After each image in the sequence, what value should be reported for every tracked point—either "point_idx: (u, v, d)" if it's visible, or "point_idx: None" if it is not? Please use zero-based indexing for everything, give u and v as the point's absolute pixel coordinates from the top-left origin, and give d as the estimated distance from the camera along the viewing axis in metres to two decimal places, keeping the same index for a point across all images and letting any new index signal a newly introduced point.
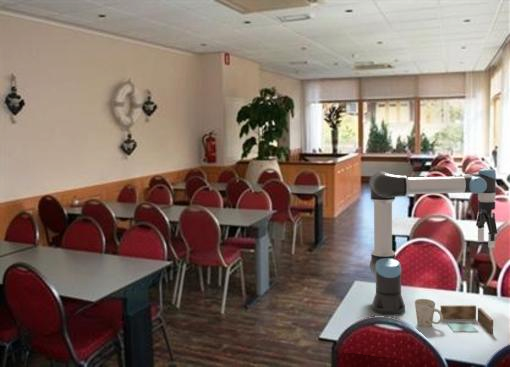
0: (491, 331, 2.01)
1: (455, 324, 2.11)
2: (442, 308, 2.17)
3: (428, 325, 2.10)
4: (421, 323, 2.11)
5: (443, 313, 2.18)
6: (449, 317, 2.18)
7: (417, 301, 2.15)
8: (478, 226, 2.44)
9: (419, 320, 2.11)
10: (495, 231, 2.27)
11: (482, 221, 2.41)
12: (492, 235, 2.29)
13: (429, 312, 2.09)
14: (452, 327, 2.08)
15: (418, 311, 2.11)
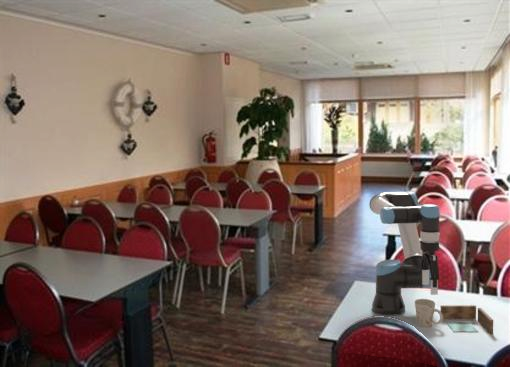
0: (491, 331, 2.01)
1: (455, 324, 2.11)
2: (442, 308, 2.17)
3: (428, 325, 2.10)
4: (421, 323, 2.11)
5: (443, 313, 2.18)
6: (449, 317, 2.18)
7: (417, 301, 2.15)
8: (422, 268, 2.16)
9: (419, 320, 2.11)
10: (437, 277, 1.99)
11: (426, 263, 2.13)
12: (434, 281, 2.01)
13: (429, 312, 2.09)
14: (452, 327, 2.08)
15: (418, 311, 2.11)
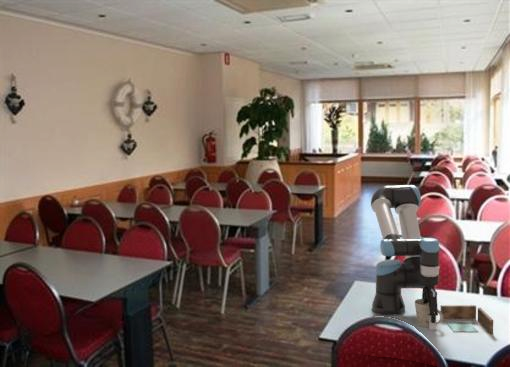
0: (491, 331, 2.01)
1: (455, 324, 2.11)
2: (442, 308, 2.17)
3: (428, 325, 2.10)
4: (421, 323, 2.11)
5: (443, 313, 2.18)
6: (449, 317, 2.18)
7: (417, 301, 2.15)
8: None
9: (419, 320, 2.11)
10: (435, 313, 2.03)
11: (427, 297, 2.14)
12: (433, 317, 2.05)
13: (429, 311, 2.09)
14: (452, 327, 2.08)
15: (418, 311, 2.11)
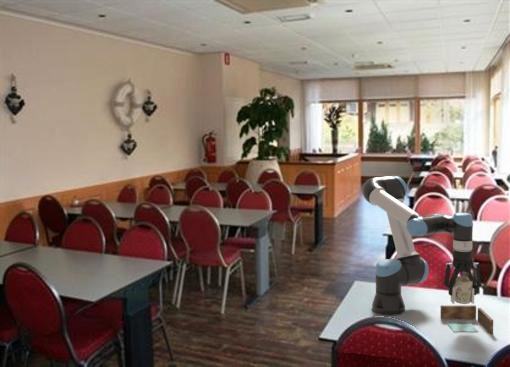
0: (491, 331, 2.01)
1: (455, 324, 2.11)
2: (442, 308, 2.17)
3: (456, 301, 2.08)
4: None
5: (443, 313, 2.18)
6: (449, 317, 2.18)
7: (467, 278, 2.10)
8: None
9: None
10: (445, 284, 2.07)
11: (468, 276, 2.06)
12: None
13: (454, 286, 2.08)
14: (452, 327, 2.08)
15: None
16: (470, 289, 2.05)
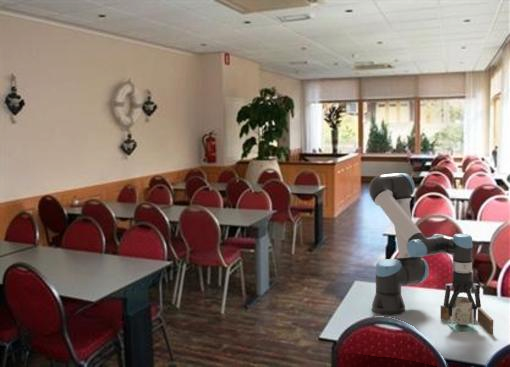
0: (491, 331, 2.01)
1: (455, 324, 2.11)
2: (442, 308, 2.17)
3: (455, 321, 2.09)
4: None
5: (443, 313, 2.18)
6: (449, 317, 2.18)
7: (467, 299, 2.11)
8: None
9: None
10: (444, 305, 2.08)
11: (468, 296, 2.07)
12: (448, 309, 2.08)
13: (453, 307, 2.09)
14: (452, 327, 2.08)
15: None
16: (470, 310, 2.06)
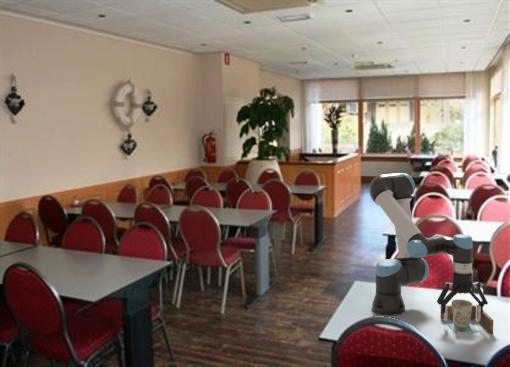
0: (491, 331, 2.01)
1: None
2: None
3: (455, 324, 2.09)
4: None
5: (443, 313, 2.18)
6: (449, 317, 2.18)
7: (466, 302, 2.11)
8: None
9: None
10: (438, 301, 2.08)
11: (472, 295, 2.07)
12: (441, 305, 2.09)
13: (453, 310, 2.09)
14: (452, 327, 2.08)
15: None
16: (469, 313, 2.06)
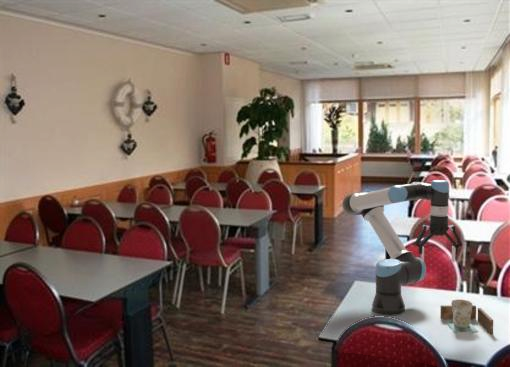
0: (491, 331, 2.01)
1: None
2: (442, 308, 2.17)
3: (455, 324, 2.09)
4: None
5: (443, 313, 2.18)
6: (449, 317, 2.18)
7: (466, 302, 2.11)
8: None
9: None
10: (415, 243, 2.20)
11: None
12: None
13: (453, 310, 2.09)
14: (452, 327, 2.08)
15: None
16: (469, 313, 2.06)
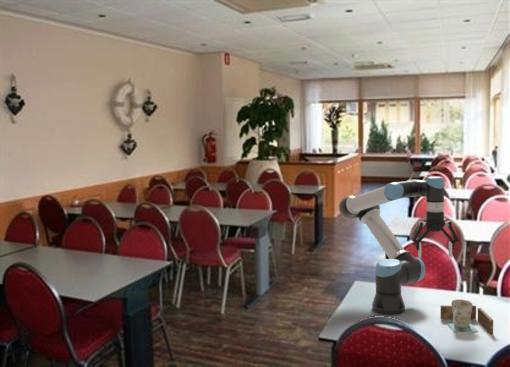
0: (491, 331, 2.01)
1: None
2: (442, 308, 2.17)
3: (455, 324, 2.09)
4: None
5: (443, 313, 2.18)
6: (449, 317, 2.18)
7: (466, 302, 2.11)
8: None
9: None
10: (412, 239, 2.22)
11: (444, 234, 2.21)
12: (416, 243, 2.23)
13: (453, 310, 2.09)
14: (452, 327, 2.08)
15: None
16: (469, 313, 2.06)
